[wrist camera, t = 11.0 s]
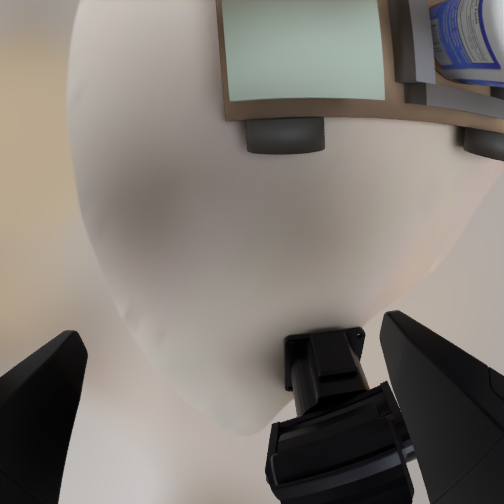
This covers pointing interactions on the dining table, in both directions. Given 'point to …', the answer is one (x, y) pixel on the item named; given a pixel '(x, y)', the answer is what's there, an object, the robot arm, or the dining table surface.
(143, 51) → the dining table surface
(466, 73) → the pill bottle
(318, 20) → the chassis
